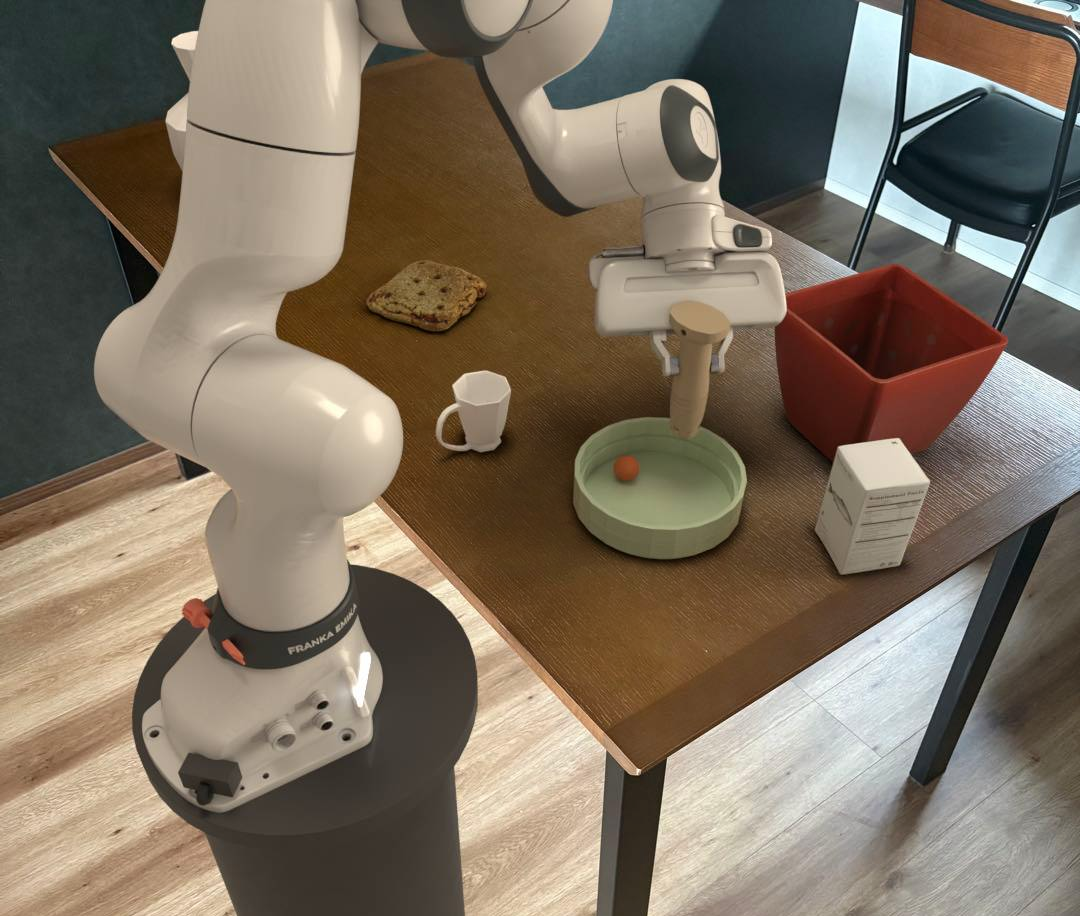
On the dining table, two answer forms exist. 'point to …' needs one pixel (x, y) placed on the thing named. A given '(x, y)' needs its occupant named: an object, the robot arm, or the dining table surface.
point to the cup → (478, 410)
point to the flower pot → (879, 359)
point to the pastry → (427, 295)
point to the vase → (178, 112)
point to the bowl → (659, 489)
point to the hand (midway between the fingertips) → (694, 374)
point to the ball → (626, 468)
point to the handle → (693, 363)
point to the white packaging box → (871, 505)
